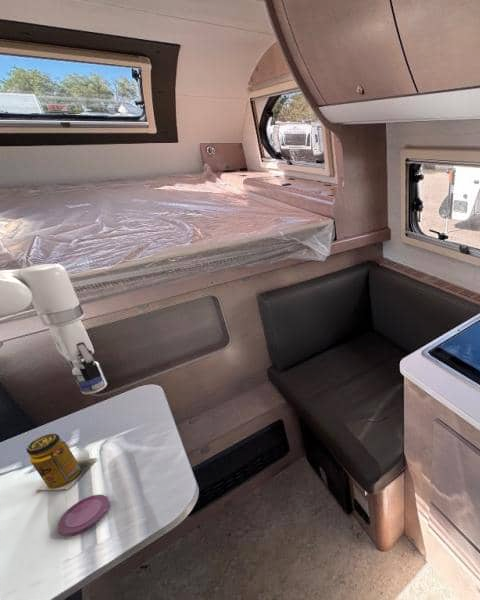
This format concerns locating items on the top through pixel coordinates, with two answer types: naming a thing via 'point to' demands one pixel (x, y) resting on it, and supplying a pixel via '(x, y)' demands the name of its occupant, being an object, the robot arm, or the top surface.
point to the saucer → (83, 515)
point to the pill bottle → (91, 385)
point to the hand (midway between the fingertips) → (88, 373)
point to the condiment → (56, 462)
